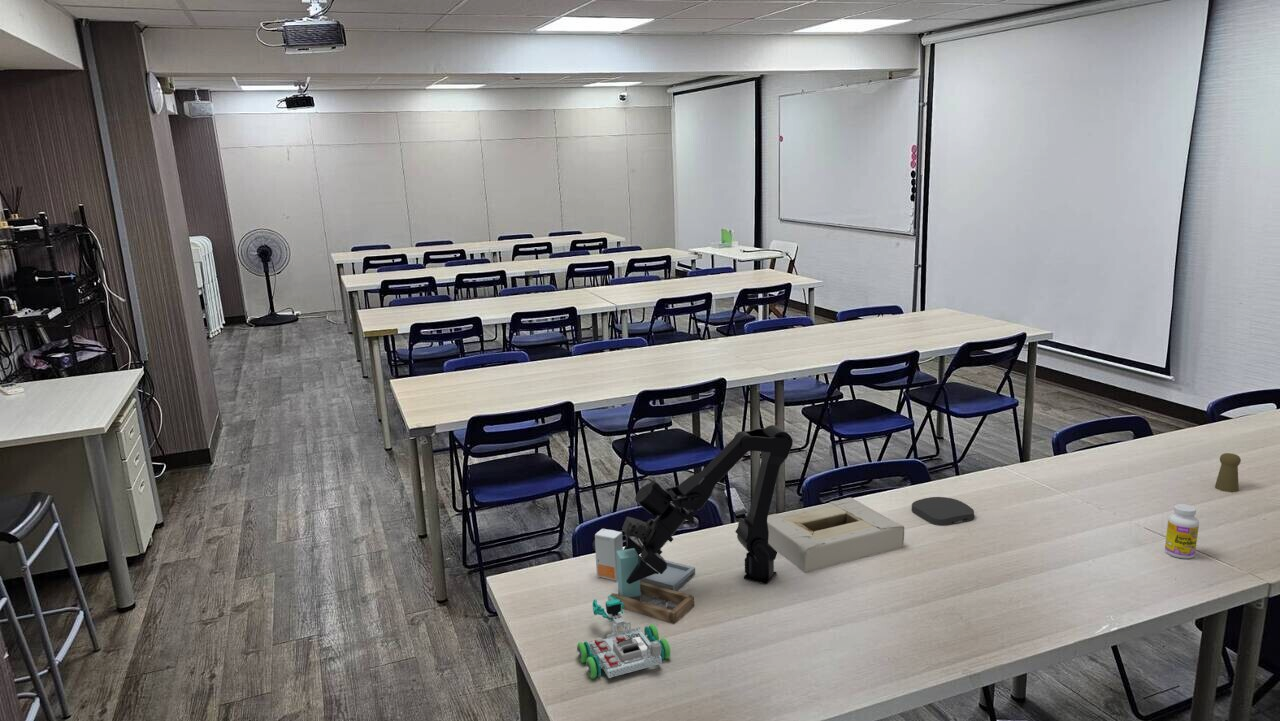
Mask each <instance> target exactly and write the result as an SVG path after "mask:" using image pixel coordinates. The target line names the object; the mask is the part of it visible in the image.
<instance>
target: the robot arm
mask: <svg viewBox="0 0 1280 721" xmlns="http://www.w3.org/2000/svg"><path fill="white" fill-rule="evenodd" d="M793 443H794V442H793V438H792V436H791V435H790V434H789V433H788V432H786V430H784V429H783V428H781V427H779V426H778V425H776V424H775V425H774V424H773V425H772V424H771V425H767V426H766V427H761V428H754V429H751V430H745V431H737V433H735V435H734V437H733V438H732V439H731V440H730V442H728V444H727V445H725V447H723V449H722V450H721V451H719V452H718V453H717V455H716V456H715V457H714V458H713V459H712V460H711V461H710V462H709V463H708V464H707V465H706V466H705V467H704V468H703V469H702V470H700V471H699V472H697V473H695V474H692V475H691V476H689V477H688V478H686V479H685V480H684V481H682V482H681V483H680V484H679V485H675V486H672V487H669V488H664V487H662V486H661V485H660V484H659V482H658V481H656V480H654V479H653V480H652V481H651V482H650V483H649V482H648V483H646V484H645V485H643V486H641V487H640V488H639V490H638V491H637V493H636V495H635V498H634V501H635V502H636V503H637V504H638V505H639V506H640V507H641V508H643V509H644V510H645V511H646V512H648V513H649V514H651V516H655V517H656V516H657V517H656V518H654V519H653V518H649V519H648V520H647V521H643V520H641V519H637V518H635V517H631V516H626V518H625V520H624V523H623V525H622V528H621V529H622V530H623V531H624V534H625V536H624V537H625V542H626V544H625V546H624V547H623V550H626V549H632V548H634V549H635V550H636V552H637V554H638V564H637V566H636V567H635V568H634V570H633V571H632V573H631V574H630V576H629V577H628V579H627V580H626V582H627V583H628V584H631V583H633V582H636V581H638V580H640V579H643V578H645V577H648V576H650V575H653V574H659V573H660V574H663V572H664V571H665V570H666V569H667V563H666V561H665V560H666V559H664V557H663V556H662V555H661V554H662V553H663V551H662V548H663V547H664V546H665V544H667V542H670V543H672V542H673V541H674V538H673V535H675V533H676V532H677V530H679V529H680V527H681V526H682V525H683V524H684V523H685V521H686V520H687V522H689V523H690V524H692V525H693V524H694V525H695V517H694V515H695V512H694V511H699V510H701V509H702V508H704V506H705V505H706V503H707V502H708V500H709V499H710V498H711V497H712V494H713V491H714V488H715V487H716V485H717V484H718V483H719V482H720V481H721V480H722V479H723V478H724V477H725V475H727V474H728V472H730V471H731V470H732V469H733V467H735V466H736V465H737V464H738V463H739V461H741V459H743V457H744V456H746V455H747V453H749V452H760V457H761V460H760V461H761V462H760V464H759V465H760V467H759V470H758V473H757V478H756V483H755V485H754V486H755V487H754V491H753V495H752V499H751V502H750V507H749V512H748V514H747V515H746V516H745V518H741V517H739V518H738V524H737V525H738V526H737V528H736V529H735V530H734V532H735V533H736V534H737V535H736V538H737V540H738V542H739V543H740V544H741V546H742V547H743V548H745V550H746V551H747V552H746V553H745V554H746V555H745V556H746V557H745V558H744V573H745V574H744V575H743V579H744V580H748V581H752V582H756V583H759V584H764V585H767V584H768V583H770V582H771V580H773V578H774V577H775V576H777V572H776V571H775V563H774V562H775V560H776V558H777V555H778V552H777V551H776V550H775V549H774V548H773V547H772V546H771V545H770V544H769V543H768V538H769V531H768V523H767V518H768V515H770V509H771V505H772V501H773V497H774V492H775V489H776V484H777V480H778V476H779V472H780V468H781V465H782V464H783V463H784V462H785V461H786V460H787V458H788V457H789V454H790V452H791V449H792V448H793Z"/></svg>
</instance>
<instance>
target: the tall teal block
mask: <svg viewBox="0 0 1280 721" xmlns="http://www.w3.org/2000/svg"><path fill="white" fill-rule="evenodd" d="M616 555H617V574H618V580H617V592H618V593H617V594H618V595H621V596H625V597H628V598H632V599H635V600H638V601H642V594H641V593H640V580H638V581H636V582H633V583H631V584H628V583H627V582H626V580H627V579H628V577H629V576H630V574H631V573H632V571H633V570H634V568H635V567H636V566H637V564H638V554H637V552H636V550H635V549H634V548H632V549H626V550H624V549H623V550H619V551H616Z"/></svg>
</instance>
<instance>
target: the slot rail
mask: <svg viewBox="0 0 1280 721" xmlns="http://www.w3.org/2000/svg"><path fill="white" fill-rule="evenodd" d="M640 593H641V595H646V596H648V597H649V596H650V597H652V598H655V599H657V598H660V597H661V598H663V599H664V600H666V602H668V603H669V602H676V603H680V604H679V605H677V606H676V607H675V608H674V609H673V610H669V609H668V608H667V607H665V608H663V607H659V606H656V605H652V604H649V603H648V602H645V601H642V600H641V601H638V600H635V599H632V598H628V597H625V596H621V595H618V593H614V592H612V593H611V594H610V595H611V596H613V597H615V598H617V599H619V600H620V601H622V602H623V606H624V607H623V608H622V610H627V611H631V612H634V613H637V614H640V615H643V616H647V617H651V618H653V619H658V620H661V621H664V622H666V623H667V622H668V623H670V624H673V625H674V624H676V623H677V622H678V621H679V620H680V619H681V618H682V617H684V615H686V614H687V613H688V612H689V611H690V610H691V609H692V608H693V607H694V606H695V596H694V595H691V594H687V593H684V592H680V591H678V590H677V591H674V590H670V589H666V588H663V587H659V586H655V585H652V584H648V583H645V582H641V581H640Z"/></svg>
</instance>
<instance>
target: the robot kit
mask: <svg viewBox="0 0 1280 721" xmlns="http://www.w3.org/2000/svg"><path fill="white" fill-rule="evenodd" d="M623 607H624V606H623V602H622V601H620V600H619V599H617V598H615V597H613V596H611V594H609V595H607V601H606V602H605V608H603V607H602V605H600V604H598V599H593V600H592V611H593V612H592V613H593V615H594V616H597V615H599V616H602V618H604V619H607V620H608V622H609V624H611V625H610V626H611V627H612V633H610V634H607V635H606V638H604V639H603V637H597V638H595V640H594V641H593V640H590V641H587V640H585V641H584V642H582V641H579V642H578V643H577V645H576V646H577V647H576V651H577V652H576V654H577V656H578V659H579V661H580V662H581V663H582V664H585V665H586V671H587V674H588V676H589V677H590V679H596V677H600V676H601V674H602V673H601V672H602V671H601V669H602V670H603V671H604V673H605V675H606V676H607V678H608V679H612V678H614V677H618V676H622V675H624V674H628V673H632V672H636V671H640V670H643V669H647V668H651V667H654V666H659V665H661V664H662V663H663V661H662V660H664V659H665V660H667V659H669V658H670V657H671V646H670V644H669V641H668V640H667V639H666V638H665V637H662V638H660V635H659V630H658V628H657V626H656V625H655V624H650V625H649V626H648V625H647V626H644V632H642V631H641V627H640V626H638V627H634V628H632V624H631V623H632V622H631V621H624V620H623V617H622V615H623V614H624V609H623ZM618 627H622V628H624V629H625V630H622V631H618Z"/></svg>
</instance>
